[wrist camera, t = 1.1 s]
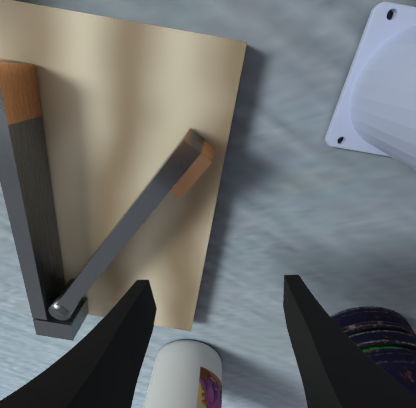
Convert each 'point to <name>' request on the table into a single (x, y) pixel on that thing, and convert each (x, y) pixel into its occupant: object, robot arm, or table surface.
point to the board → (127, 141)
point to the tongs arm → (139, 215)
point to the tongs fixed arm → (32, 198)
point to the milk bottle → (185, 377)
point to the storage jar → (383, 340)
